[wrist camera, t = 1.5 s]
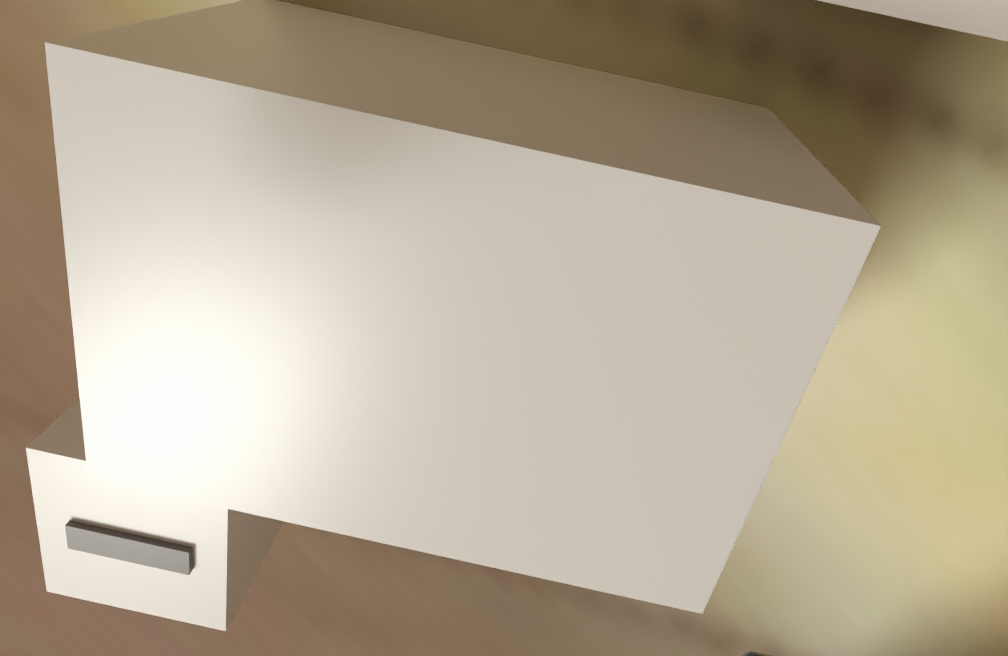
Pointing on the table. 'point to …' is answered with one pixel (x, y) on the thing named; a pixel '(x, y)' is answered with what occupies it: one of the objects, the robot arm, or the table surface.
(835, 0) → the white marked cube
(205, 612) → the striped block one
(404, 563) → the table surface
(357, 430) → the plain grey block
